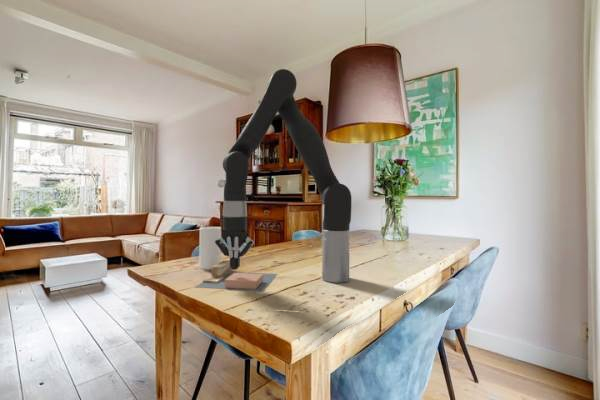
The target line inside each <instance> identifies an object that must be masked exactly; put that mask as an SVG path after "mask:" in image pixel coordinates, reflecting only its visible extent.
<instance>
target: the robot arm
mask: <svg viewBox="0 0 600 400" xmlns="http://www.w3.org/2000/svg"><path fill="white" fill-rule="evenodd" d="M297 83H298V82H297V79H296V76H295V74H294V73H293V72H292V71H290V70H289V69H286V68H281V69H278V70H276V71H274V72H273V73H272V74H271V77H270V78H269V82H268V85H267V88H266V90H265V93H264V94H263V97H262V98H261V101H260V102H259V104H258V106H257V107H256V109H255V110H254V112H253V114H252V115H251V116H250V118H249V120H248V121H247V123H246V124H245V126H244V127H243V128H242V131H241V132H240V134H239V136H238V138H237V140H236V142H235V143H234V144H233V145H232V147H231V148H230V149H229V151H228V152H227V153H226V155H225V156H224V159H223V161H222V168H223V171H224V172H225V183H224V185H223V186H224V187H223V205H222V232H221V238H219V239H218V240H216V241H215V243H216V244H217V246H218V247H219V249H220V250H221V254H222V255H223V256H225V257H228V258H229V261H230V268H231V269H232V271H234V270H238V269H239V268H240V266H241V264H240V263H241V261H240V260H241V257H243V256H245V255H246V254H247V252H248V251H249V250H250V249H251V248H252V247H253V245H254V244H255V243H256V242H255V240H254V239H251V238H250V237H249V234H248V231H247V230H248V209H247V208H248V207H247V206H248V205H247V182H248V176H249V175H248V174H249V159H250V158H251V156H252V155H253V154H254V153H255V152H256V151H257V150H258V148H259V146H260V145H261V144H262V142H263V140H264V138H265V137H266V134H267V133H268V131H269V128H270V127H271V125H272V123H273V121H274V119H275V117H276V115H277V113H278V114H279V116H280V117H281V118H280V119H282V121H283V123H284V126H285V127H286V130H287V132H288V133H289V136H290V138H291V140H292V142H293V144H294V146H295V148H296V150H297V152H298V154H299V156H300V158H301V160H302V161H303V164H304V165H305V166H306V168H307V170H308V171H309V173H310V174H311V176H312V178H313V179H314V182H315V184H316V187H317V189H318V191H319V195H320V197H321V199H322V203H323V210H324V211H323V221H322V252H321V253H322V255H321V256H322V258H321V260H322V261H321V263H322V264H321V265H322V266H321V269H322V271H321V278H322V280H323V281H325V282H329V283H335V284H336V283H337V284H339V283H349V282H350V224H351V221H352V193H351V191H350V189H349V187H348V186H347V185H345V184H343V183H341V182H340V181H339V180H338V178H337V176H336V174H335V172H334V170H333V168H332V166H331V163H330V158H329V156H328V153H327V147H326V145H325V143H324V142H323V139H322V137H321V135H320V134H319V132H318V130H317V128H316V127H315V125H314V124H313V123H312V122H311V121H310V120H309V119H307V117H305V115H304V114H303V113H302V112H301V110H300V108H299V106H298V104H297V101H296V99H295V96H294V94H295V92H296V90H297V85H298V84H297ZM244 244H245V246H244V248H242V247H243V245H244Z"/></svg>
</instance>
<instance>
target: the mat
mask: <svg viewBox="0 0 600 400" xmlns="http://www.w3.org/2000/svg"><path fill="white" fill-rule="evenodd" d="M234 273H247V274H263V282H262V283H261V284H260V285H259V286H258V287H257V288H256V289H244V288H226V287H225V279H227V278H228V277H229V276H231V275H232V274H234ZM277 276H278V273H263V272H262V273H261V272H245V271H243V272H241V271H232V272H230V273H229V274H227V275H226V276H224V279H223V280H221V281H220V282H218V283H204V282H203V281H202V282H201V283H199V284H198V285H196V286H195V287H194V288H196V289H197V288H199V289H215V290H231V291H232V290H235V291H251V292H252V291H253V292H265V291H266V289H268V287H269V285H270V284H271V283H272V282H273V280H275V278H276V277H277Z"/></svg>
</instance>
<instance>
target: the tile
mask: <svg viewBox="0 0 600 400" xmlns="http://www.w3.org/2000/svg"><path fill="white" fill-rule="evenodd" d="M247 273H248V272H245V273H234V274H232V275H231V276H229V277H228V278H227V279H225V287H226V288H244V289H256V288H257V287H258V286H259V285H260V284H261V283H262V282H263V274H247Z"/></svg>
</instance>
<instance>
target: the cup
mask: <svg viewBox="0 0 600 400" xmlns="http://www.w3.org/2000/svg"><path fill="white" fill-rule="evenodd" d="M221 237H222V227H221V226H201V227H199V243H198V244H199V247H198V248H199V251H198V252H199V254H198V255H199V257H198V259H199V264H198V265H199V266H198V268H199V269H201V270H212V267H213V266H214V265H216V264H218V263H220V262H222V251H221V250H220V249H219V247H218V246H217V244H216V243H215V241H216V240H218V239H219V238H221Z"/></svg>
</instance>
